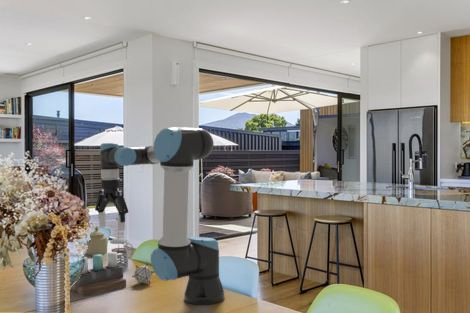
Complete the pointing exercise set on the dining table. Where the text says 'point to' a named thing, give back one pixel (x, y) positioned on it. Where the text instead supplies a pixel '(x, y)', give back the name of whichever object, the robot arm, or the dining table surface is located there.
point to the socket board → (100, 281)
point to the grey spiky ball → (143, 274)
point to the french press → (121, 250)
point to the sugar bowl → (97, 243)
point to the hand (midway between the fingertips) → (111, 228)
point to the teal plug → (97, 262)
